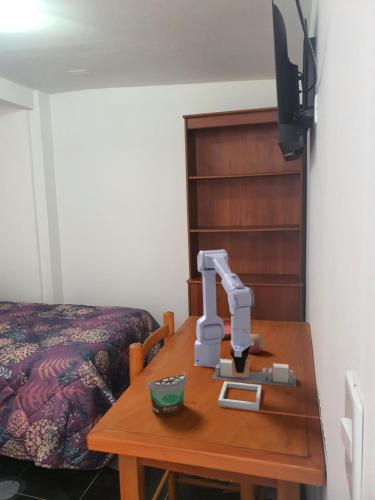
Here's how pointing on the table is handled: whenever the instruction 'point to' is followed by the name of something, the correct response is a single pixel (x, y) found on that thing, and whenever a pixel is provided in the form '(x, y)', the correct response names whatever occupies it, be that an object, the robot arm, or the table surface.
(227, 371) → the block
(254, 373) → the rail
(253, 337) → the fruit
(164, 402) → the food container
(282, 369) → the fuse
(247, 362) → the block
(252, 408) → the tray
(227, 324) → the plant saucer
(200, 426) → the table surface
